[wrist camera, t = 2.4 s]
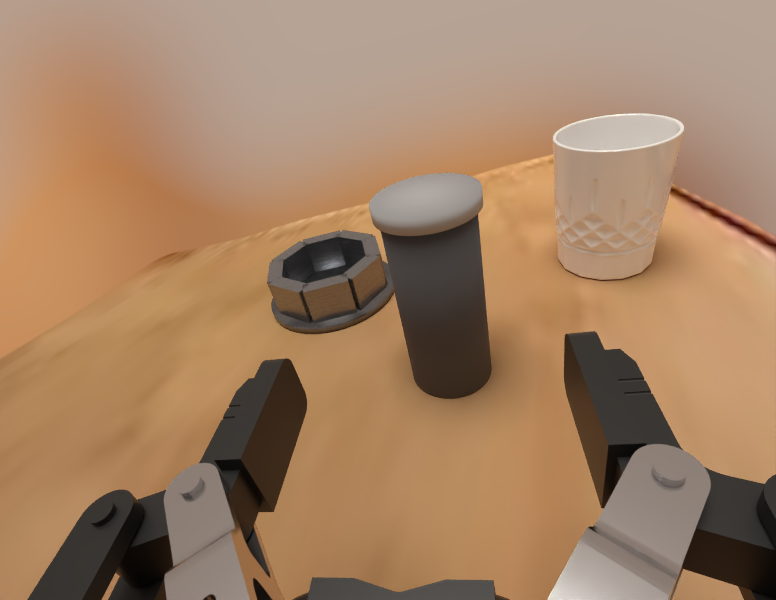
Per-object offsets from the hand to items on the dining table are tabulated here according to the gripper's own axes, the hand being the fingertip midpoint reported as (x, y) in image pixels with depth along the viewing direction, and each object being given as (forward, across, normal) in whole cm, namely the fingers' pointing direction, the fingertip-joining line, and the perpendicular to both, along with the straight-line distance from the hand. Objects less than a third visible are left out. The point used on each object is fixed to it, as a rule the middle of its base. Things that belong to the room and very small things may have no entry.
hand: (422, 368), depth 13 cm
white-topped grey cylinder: (+12, 0, +11) cm, 16 cm away
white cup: (+23, -12, +11) cm, 28 cm away
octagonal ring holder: (+22, +10, +11) cm, 27 cm away
